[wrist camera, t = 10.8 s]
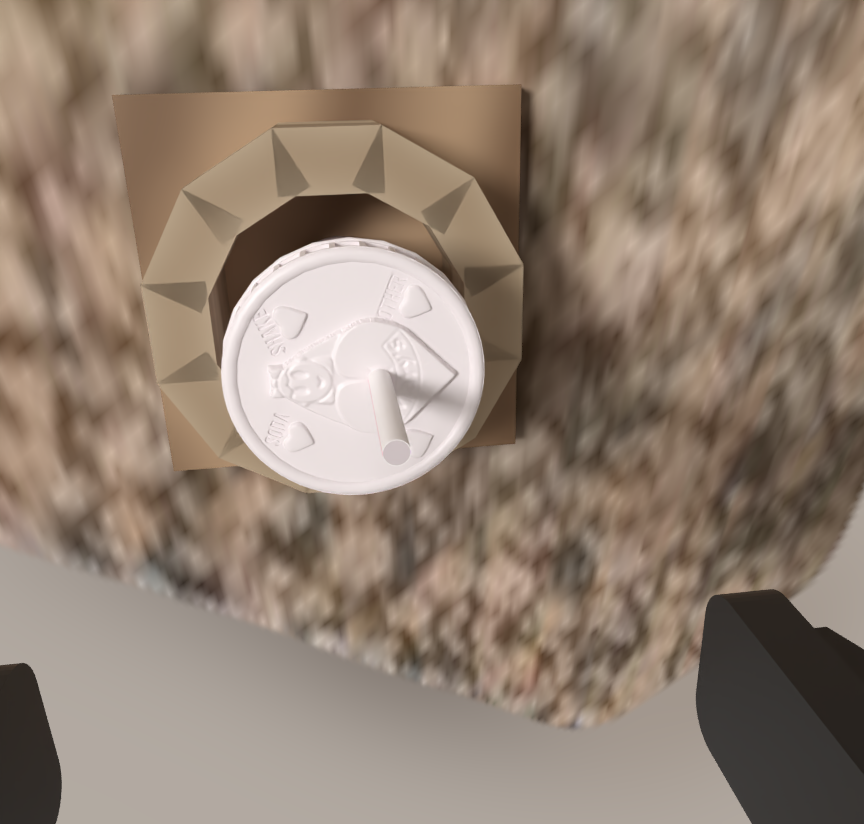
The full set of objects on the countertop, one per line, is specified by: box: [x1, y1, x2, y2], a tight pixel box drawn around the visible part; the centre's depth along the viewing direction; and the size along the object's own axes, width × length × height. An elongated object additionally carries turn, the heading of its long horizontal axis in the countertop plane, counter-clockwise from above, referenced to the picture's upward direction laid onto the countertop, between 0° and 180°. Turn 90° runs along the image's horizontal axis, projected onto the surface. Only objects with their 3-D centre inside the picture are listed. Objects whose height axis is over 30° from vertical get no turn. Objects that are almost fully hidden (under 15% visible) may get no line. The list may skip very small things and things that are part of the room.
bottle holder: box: [112, 84, 523, 493], centre depth 26 cm, size 13×13×6 cm
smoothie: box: [221, 236, 485, 495], centre depth 21 cm, size 6×6×14 cm
